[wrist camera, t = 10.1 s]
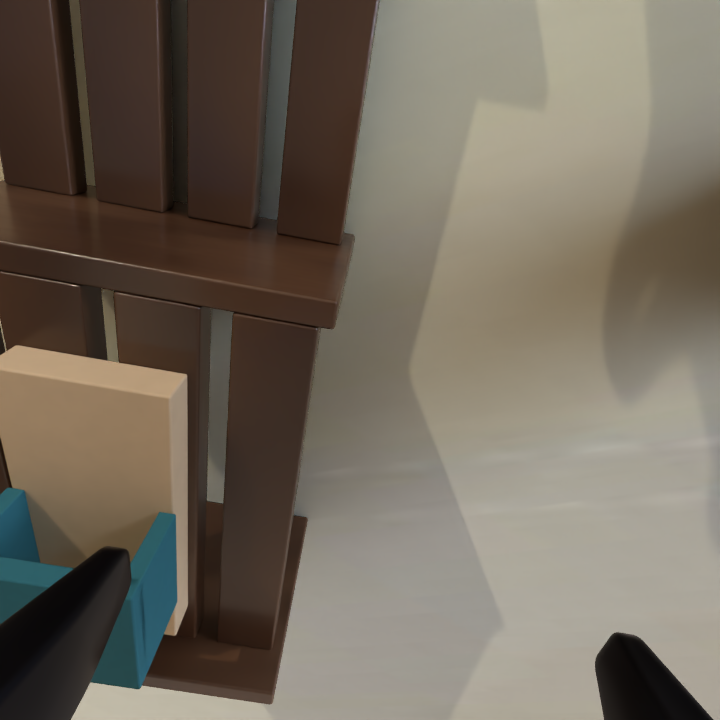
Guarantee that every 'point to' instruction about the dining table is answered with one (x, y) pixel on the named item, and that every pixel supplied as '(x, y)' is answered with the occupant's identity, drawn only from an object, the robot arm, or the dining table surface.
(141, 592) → the wall mail holder
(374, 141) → the dining table surface
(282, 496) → the shoe rack
